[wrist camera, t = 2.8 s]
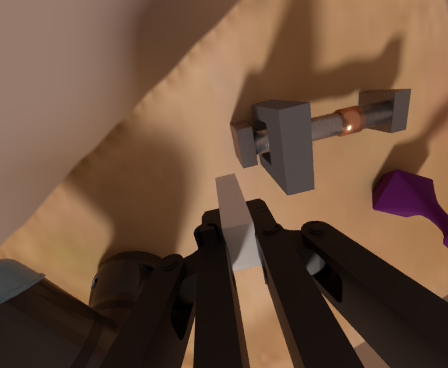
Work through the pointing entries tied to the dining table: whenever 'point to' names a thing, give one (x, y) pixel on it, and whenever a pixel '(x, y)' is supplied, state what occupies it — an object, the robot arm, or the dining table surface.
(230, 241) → the robot arm
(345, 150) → the dining table surface
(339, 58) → the dining table surface
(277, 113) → the collar
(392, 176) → the perfume bottle
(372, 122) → the pipe stand
